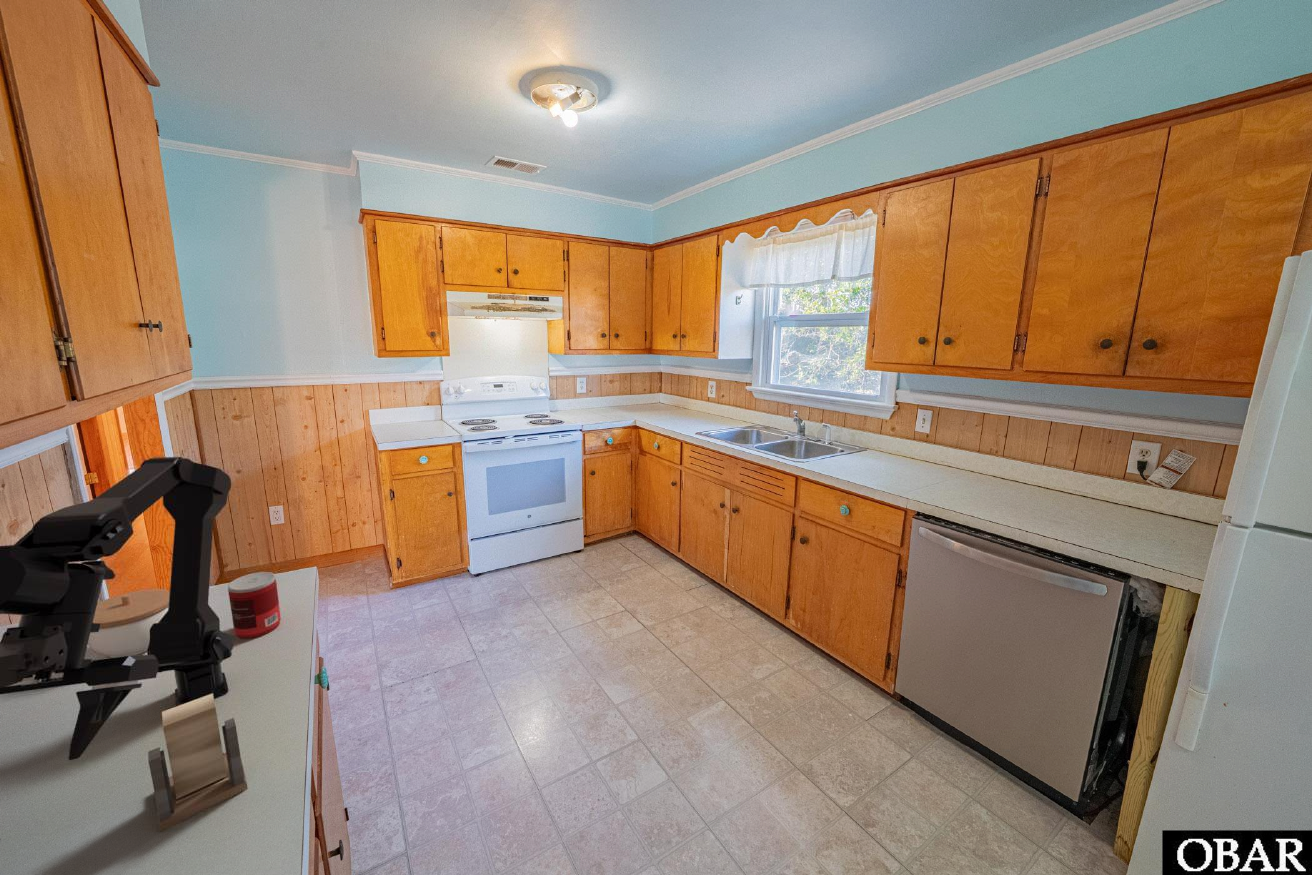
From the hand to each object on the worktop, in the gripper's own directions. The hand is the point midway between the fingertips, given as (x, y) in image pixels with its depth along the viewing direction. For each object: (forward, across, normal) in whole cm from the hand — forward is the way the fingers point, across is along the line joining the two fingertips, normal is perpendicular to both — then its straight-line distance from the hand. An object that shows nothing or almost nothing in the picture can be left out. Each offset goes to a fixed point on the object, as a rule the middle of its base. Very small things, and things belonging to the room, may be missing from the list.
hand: (18, 768), depth 53 cm
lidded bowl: (-14, -19, +50) cm, 55 cm away
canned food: (-15, +1, +51) cm, 53 cm away
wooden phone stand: (+8, +10, +16) cm, 20 cm away
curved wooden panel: (+6, +10, +15) cm, 19 cm away
